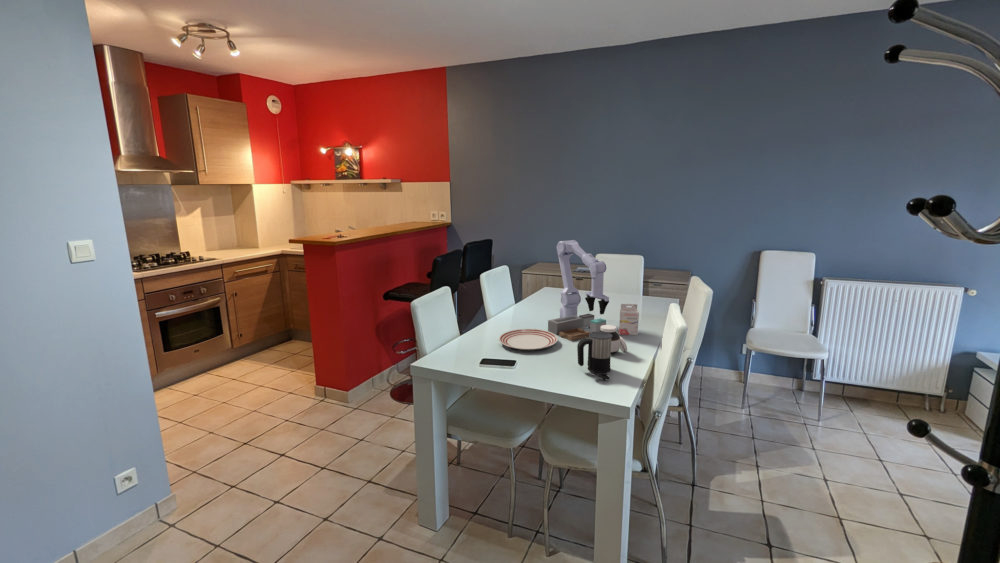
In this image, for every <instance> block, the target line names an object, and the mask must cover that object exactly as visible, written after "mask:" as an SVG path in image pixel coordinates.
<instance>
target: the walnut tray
mask: <svg viewBox="0 0 1000 563" xmlns="http://www.w3.org/2000/svg"><path fill="white" fill-rule="evenodd" d="M589 333H591V332H590V331H587V330H585V329H584V328H583V329H580V328H574V329H570V330H566V331H561V332H559V335H558V337H561V338H562V339H565V340H568V341H570V342H574V341H577V340H582V339H584V338H586V337H587V338H590V336H589Z"/></svg>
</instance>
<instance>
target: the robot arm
mask: <svg viewBox="0 0 1000 563" xmlns="http://www.w3.org/2000/svg"><path fill="white" fill-rule="evenodd" d="M556 253H557V256H558V263H559V266H560V268H559V269H560V272H561V278H562V283H563V289H562V291H561V292H560V303H561V306H560V307H559V318H562V317H567V316H572V315H575V316H578V307H579V305H580V303H581V301H582V298H581V295H580V292H579V290H578V288H576V287H575V284H574V279H573V274H572V269H571V263H570V258H571V257H572V256H573V255H574V254H575V255H576V256H578V257H579V258H580V259H581V262H582V263H583V264H584V265H585V266H587V268H588V269H589V273H590V277H591V285H590V286H591V287H590V289H591V291H586V292H585V298H584V299H585V301H586V303H587V306H588V309H589V312H593V311H594V308H595V302H596V299H597V300H598V301H597V303H598V304H599V315H605V311H606V309H607V306H608V304H609V303H610V296H607V295H605V294H604V276H605V275H604V274H605V272H607V264H606V263H605V262H604V261H603V260H601V261H600V260H599V259H597V258H596V257H594V256H593V254H592V253H588V252H586V251H584V249H583V248H582V247H581V246H580V244H579V242H577V241H576V240H575V239H572V240H570V239H569V240H560V241H558V242H557V244H556Z"/></svg>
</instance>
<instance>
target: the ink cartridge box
mask: <svg viewBox="0 0 1000 563" xmlns="http://www.w3.org/2000/svg"><path fill="white" fill-rule="evenodd" d="M619 310H620V311H619V326H618V327H619V328H618V333H619V335H620V336H621V335H624V336H625V335H626V336H638V335H639V334H638V333H639V332H638V331H639V323H640V322H639V321H640V320H639V318H640V311H638V304H636V303H621V304H620V309H619Z"/></svg>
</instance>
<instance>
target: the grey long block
mask: <svg viewBox="0 0 1000 563" xmlns="http://www.w3.org/2000/svg"><path fill="white" fill-rule="evenodd" d="M547 323H548V324H547V331H548V332H551V333H553V334H554V335H556V336H559V332H561V331H566V330H570V329H574V328H580V329H583V330H584V328H583V318H581V317H579V315H577V316H575V315H572V316H567V317H562V318H560V317H558V318H554V319H553V318H552V319H548V320H547Z"/></svg>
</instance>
